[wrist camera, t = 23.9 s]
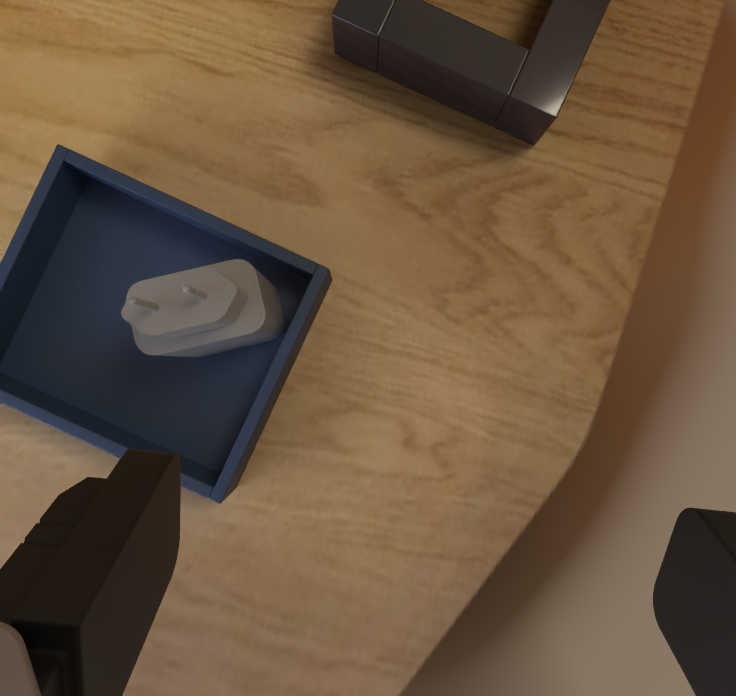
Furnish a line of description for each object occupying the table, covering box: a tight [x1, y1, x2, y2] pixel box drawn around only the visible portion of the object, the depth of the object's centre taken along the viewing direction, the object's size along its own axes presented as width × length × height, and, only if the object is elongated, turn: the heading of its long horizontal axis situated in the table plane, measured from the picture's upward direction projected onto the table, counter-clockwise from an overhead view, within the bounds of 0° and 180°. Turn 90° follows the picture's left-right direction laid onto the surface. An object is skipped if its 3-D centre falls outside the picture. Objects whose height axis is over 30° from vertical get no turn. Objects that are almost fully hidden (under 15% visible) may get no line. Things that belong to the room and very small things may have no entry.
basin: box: [0, 145, 332, 503], centre depth 33 cm, size 14×12×4 cm
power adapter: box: [121, 259, 285, 357], centre depth 28 cm, size 3×5×12 cm, turn 103°
